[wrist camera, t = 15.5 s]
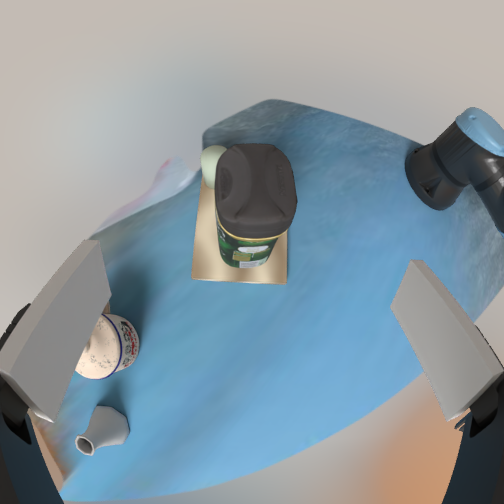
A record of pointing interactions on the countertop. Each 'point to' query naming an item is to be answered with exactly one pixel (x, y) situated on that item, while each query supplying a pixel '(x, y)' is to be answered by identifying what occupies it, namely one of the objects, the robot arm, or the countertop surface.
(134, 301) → the countertop surface
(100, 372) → the teacup with lid
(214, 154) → the sage tin
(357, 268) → the countertop surface
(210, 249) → the birch board
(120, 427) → the flask
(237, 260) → the coffee jar
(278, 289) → the countertop surface
